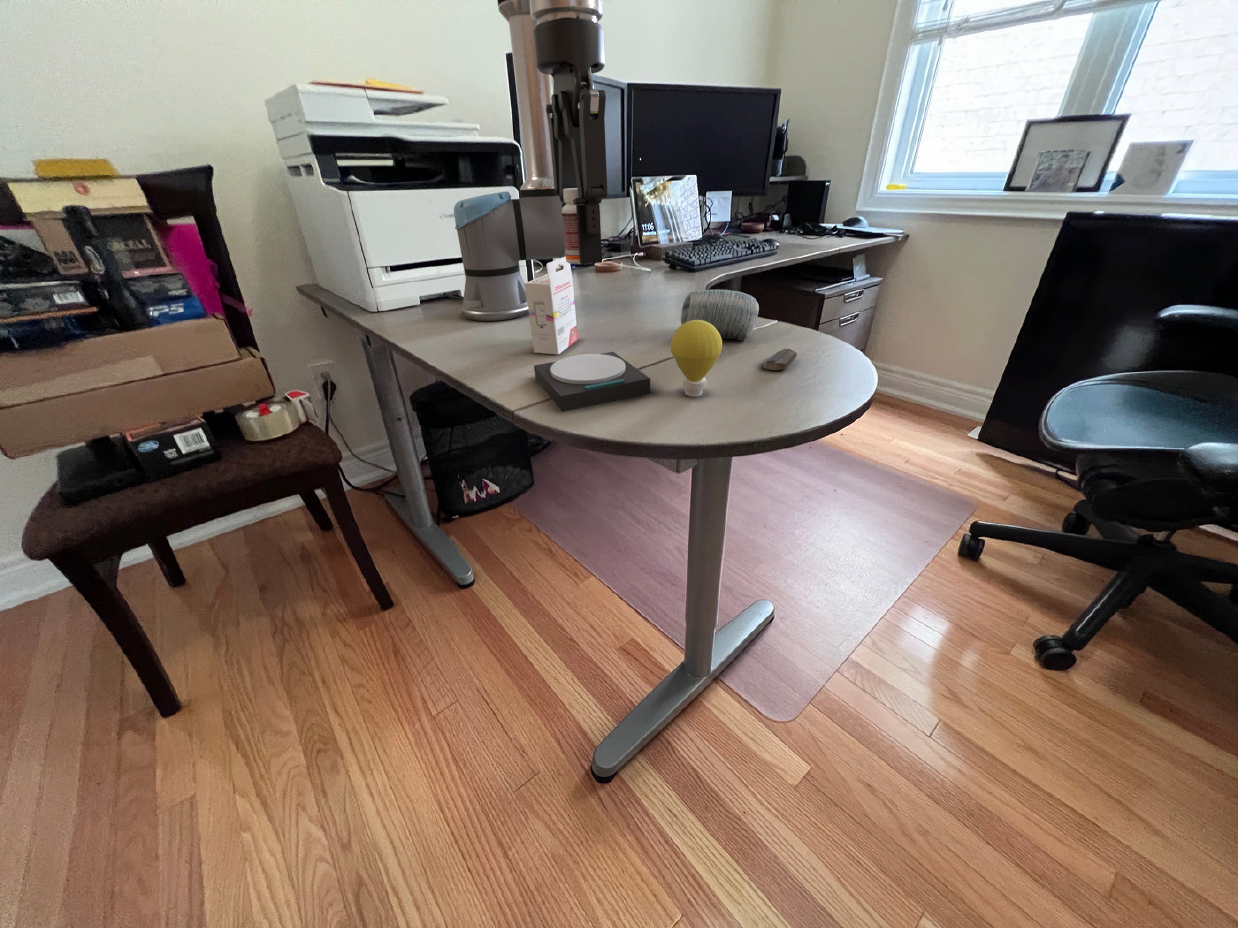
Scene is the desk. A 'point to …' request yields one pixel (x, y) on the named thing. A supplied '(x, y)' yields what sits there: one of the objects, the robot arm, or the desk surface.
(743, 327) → the spool
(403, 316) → the desk surface
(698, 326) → the light bulb
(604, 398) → the scale
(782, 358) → the block
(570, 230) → the pill bottle
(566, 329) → the ink cartridge box
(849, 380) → the desk surface
